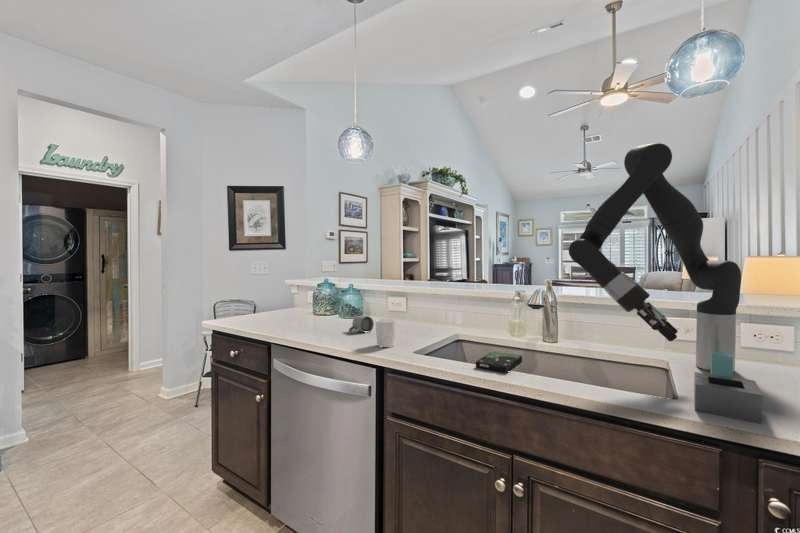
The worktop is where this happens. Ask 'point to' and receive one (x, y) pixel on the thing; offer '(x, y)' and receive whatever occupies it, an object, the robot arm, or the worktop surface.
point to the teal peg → (722, 364)
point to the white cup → (385, 332)
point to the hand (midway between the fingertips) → (674, 336)
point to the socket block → (728, 397)
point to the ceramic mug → (362, 324)
